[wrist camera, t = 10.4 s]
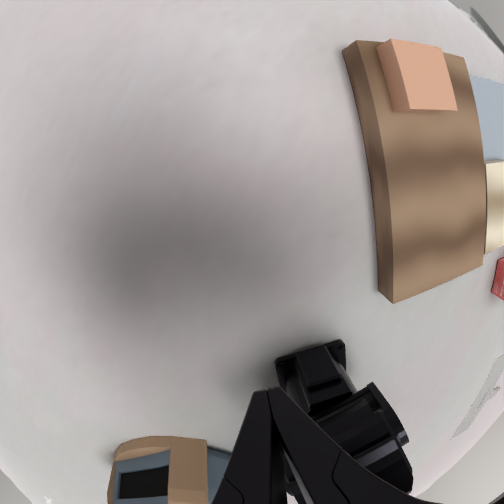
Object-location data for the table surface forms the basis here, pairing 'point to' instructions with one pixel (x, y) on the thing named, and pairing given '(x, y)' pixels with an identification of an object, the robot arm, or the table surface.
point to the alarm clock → (166, 471)
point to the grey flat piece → (483, 395)
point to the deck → (421, 179)
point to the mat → (490, 116)
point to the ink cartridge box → (499, 280)
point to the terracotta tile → (416, 77)
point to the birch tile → (494, 204)
